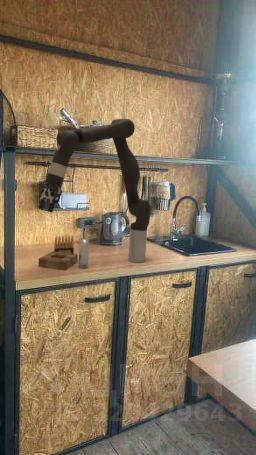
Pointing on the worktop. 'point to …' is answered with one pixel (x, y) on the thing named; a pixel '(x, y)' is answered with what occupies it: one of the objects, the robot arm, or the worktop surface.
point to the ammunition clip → (64, 245)
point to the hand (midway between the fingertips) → (44, 210)
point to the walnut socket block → (58, 260)
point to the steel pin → (83, 253)
